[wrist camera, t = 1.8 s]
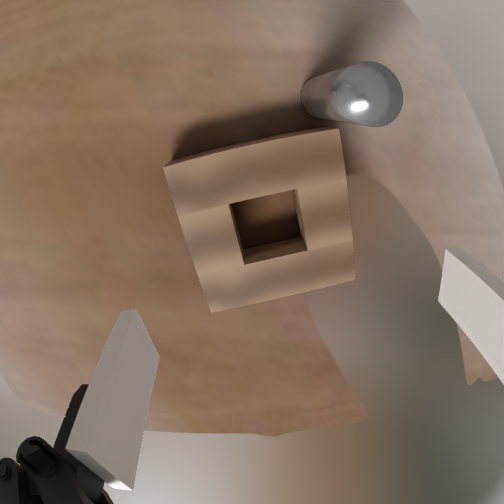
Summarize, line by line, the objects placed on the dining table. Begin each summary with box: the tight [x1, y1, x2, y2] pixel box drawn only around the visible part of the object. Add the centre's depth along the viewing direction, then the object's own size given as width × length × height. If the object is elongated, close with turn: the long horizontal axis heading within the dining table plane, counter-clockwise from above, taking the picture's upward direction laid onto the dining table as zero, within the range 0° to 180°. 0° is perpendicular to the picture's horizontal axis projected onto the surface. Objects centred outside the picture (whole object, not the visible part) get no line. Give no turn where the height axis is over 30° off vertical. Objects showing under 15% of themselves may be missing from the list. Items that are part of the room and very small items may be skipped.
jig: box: [163, 126, 355, 312], centre depth 31 cm, size 16×16×4 cm
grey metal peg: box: [300, 61, 403, 127], centre depth 22 cm, size 4×4×12 cm
